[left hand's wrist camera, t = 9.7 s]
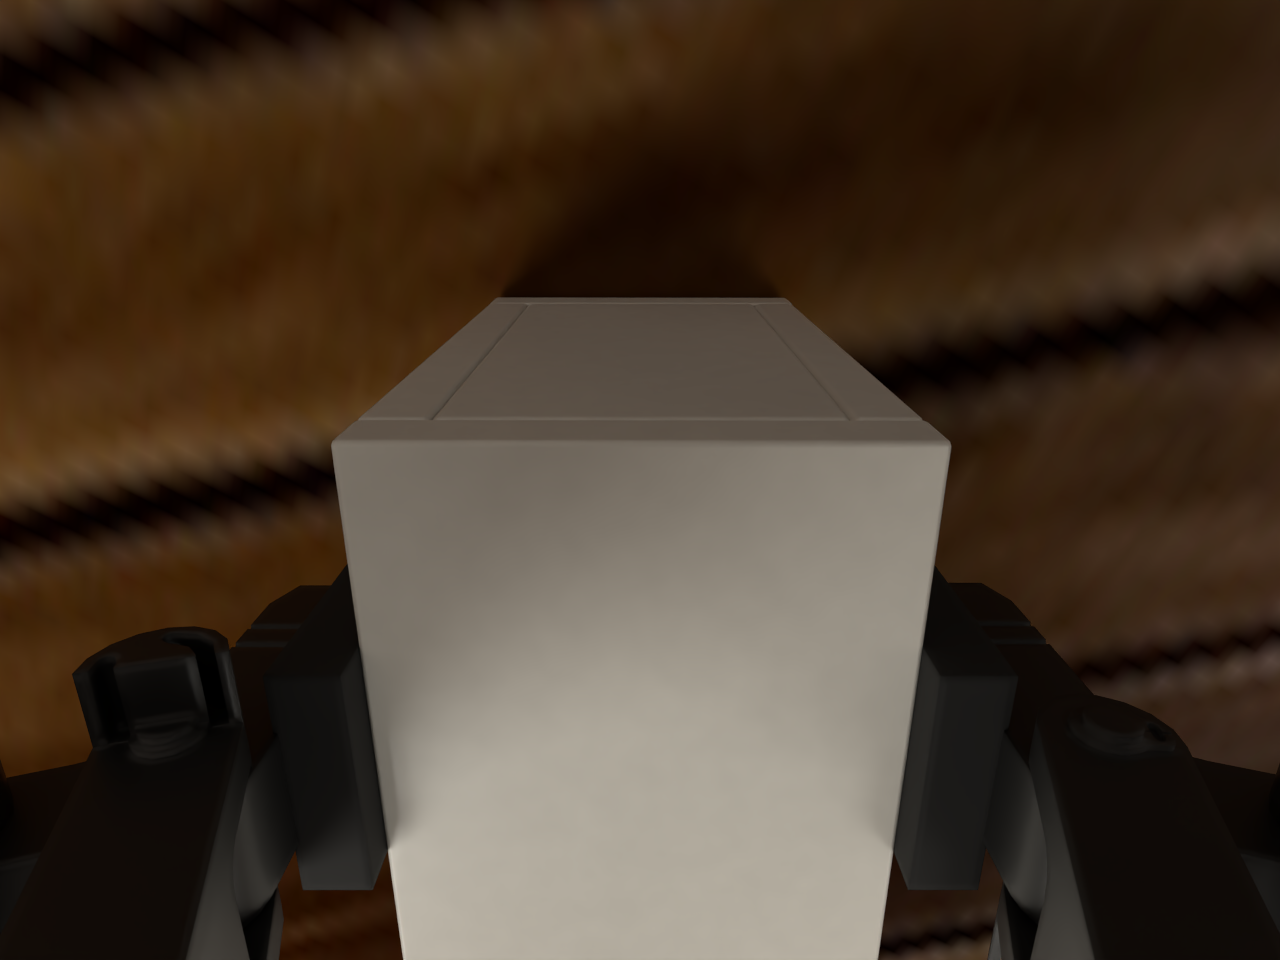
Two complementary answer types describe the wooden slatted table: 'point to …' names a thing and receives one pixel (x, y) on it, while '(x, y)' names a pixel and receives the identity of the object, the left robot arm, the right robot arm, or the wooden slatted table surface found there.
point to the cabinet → (640, 631)
